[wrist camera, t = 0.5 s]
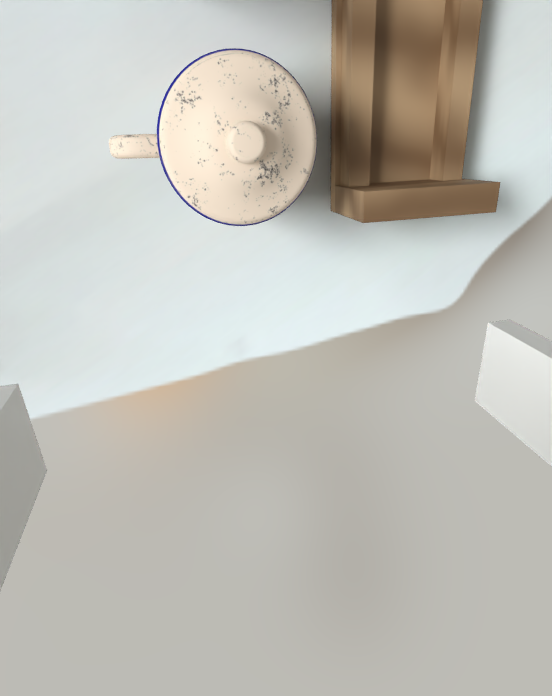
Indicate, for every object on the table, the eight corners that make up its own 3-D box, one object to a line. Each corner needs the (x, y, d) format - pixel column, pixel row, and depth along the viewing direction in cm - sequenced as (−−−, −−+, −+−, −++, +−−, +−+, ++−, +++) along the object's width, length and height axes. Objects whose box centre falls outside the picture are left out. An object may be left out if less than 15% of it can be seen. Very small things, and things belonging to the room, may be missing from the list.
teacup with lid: (283, 74, 32) (337, 35, 21) (285, 206, 35) (332, 229, 25) (108, 73, 30) (72, 30, 19) (129, 214, 33) (109, 243, 23)
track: (332, -208, 26) (382, -321, 20) (483, -195, 28) (572, -294, 22) (330, 210, 36) (363, 222, 30) (442, 202, 38) (495, 212, 32)
